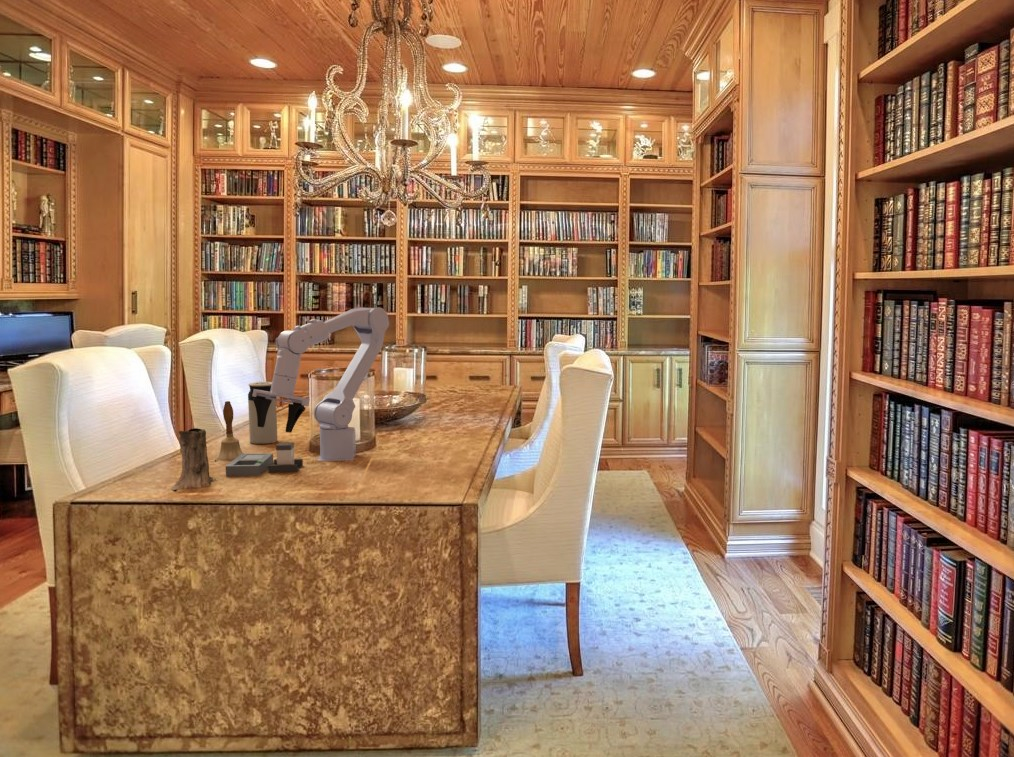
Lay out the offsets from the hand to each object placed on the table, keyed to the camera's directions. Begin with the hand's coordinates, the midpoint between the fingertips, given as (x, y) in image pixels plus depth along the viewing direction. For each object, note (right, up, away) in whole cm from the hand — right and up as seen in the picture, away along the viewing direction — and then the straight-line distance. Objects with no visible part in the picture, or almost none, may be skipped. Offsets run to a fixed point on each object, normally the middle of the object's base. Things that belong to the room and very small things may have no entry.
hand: (274, 429), depth 182 cm
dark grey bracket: (+3, -11, +1) cm, 11 cm away
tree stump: (-14, -13, -14) cm, 23 cm away
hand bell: (-16, -9, +14) cm, 24 cm away
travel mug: (-15, -7, +37) cm, 41 cm away
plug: (+3, -10, +1) cm, 10 cm away
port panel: (-6, -11, +1) cm, 12 cm away
